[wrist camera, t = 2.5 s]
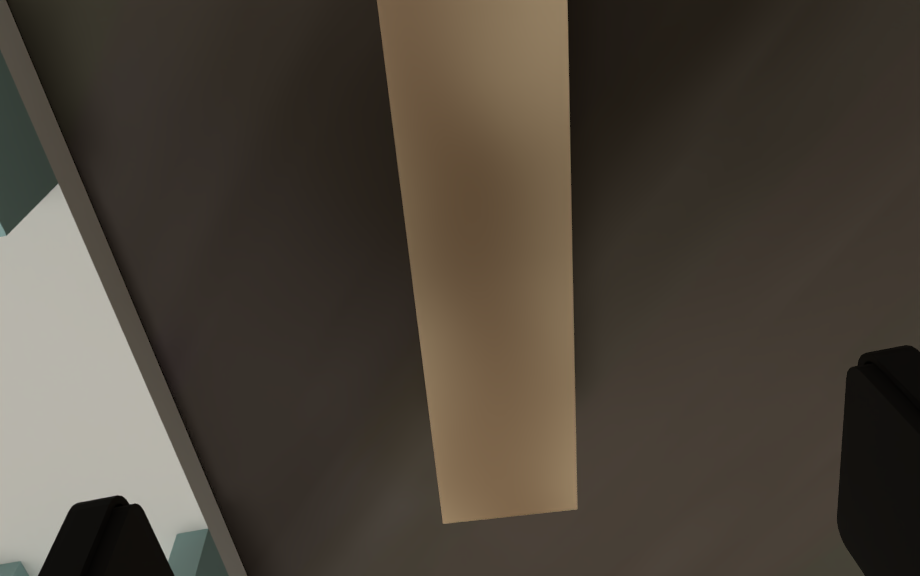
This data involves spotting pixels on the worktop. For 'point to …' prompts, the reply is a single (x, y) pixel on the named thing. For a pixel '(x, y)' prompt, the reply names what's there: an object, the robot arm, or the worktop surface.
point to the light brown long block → (489, 243)
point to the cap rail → (79, 360)
